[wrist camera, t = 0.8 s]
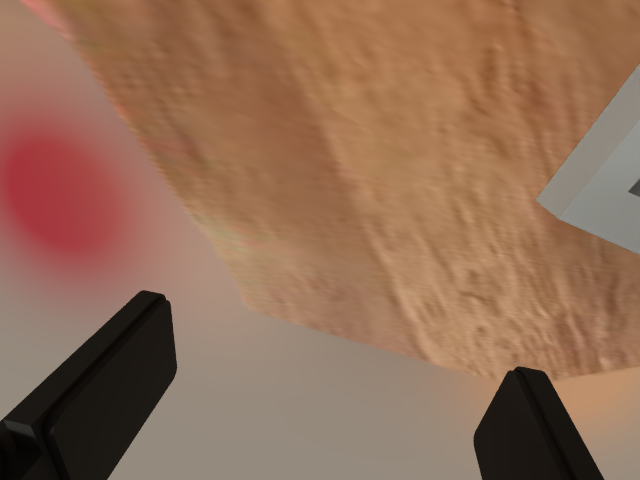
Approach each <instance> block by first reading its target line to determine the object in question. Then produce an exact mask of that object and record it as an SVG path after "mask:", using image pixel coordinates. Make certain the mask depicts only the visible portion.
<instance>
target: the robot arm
mask: <svg viewBox="0 0 640 480" xmlns="http://www.w3.org/2000/svg"><path fill="white" fill-rule="evenodd" d="M176 370H177V362H176V353H175V342H174V334H173V323H172V314H171V305H170V302H169V301H168V300H166V298H165V296H164V295H163V294H159V293H155V292H150V291H145V290H143V291H140V292H139V293H138V294H137V295H136V296H135V297H133V298H132V299H131V300H130V301H129V302H128V303H127V304H126V305H125V306H124V307H123V308H122V309H121V310H120V311H118V312H117V313H116V314H115V315H114V316H113V317H112V318H111V319H110V320H109V321H108V322H107V323H106V324H104V325H103V326H102V327H101V328H100V329H99V330H98V331H97V332H96V333H95V334H94V335H93V336H92V337H90V338H89V339H88V340H87V341H86V342H85V343H84V344H83V345H82V346H81V347H79V348H78V349H77V350H76V351H75V352H74V353H73V354H72V355H71V356H70V357H69V358H68V359H67V360H66V361H64V362H63V363H62V364H61V365H60V366H59V367H58V368H57V369H56V370H55V371H54V372H53V373H52V374H50V375H49V376H48V377H47V378H46V379H45V380H44V381H43V382H42V383H41V384H40V385H39V386H38V387H37V388H35V389H34V390H33V391H32V392H31V393H30V394H29V395H28V396H27V397H26V398H25V399H24V400H23V401H22V402H20V403H19V404H18V405H17V406H16V407H15V408H14V409H13V410H12V411H11V412H10V413H9V414H8V415H7V416H6V417H4V418H3V419H2V420H1V421H0V480H107V479H108V477H109V476H110V474H111V473H112V471H113V470H114V468H115V467H116V465H117V464H118V462H119V461H120V459H121V458H122V456H123V455H124V453H125V452H126V450H127V449H128V447H129V446H130V444H131V443H132V441H133V440H134V438H135V437H136V435H137V434H138V432H139V431H140V429H141V427H142V426H143V425H144V423H145V422H146V420H147V418H148V417H149V415H150V414H151V412H152V411H153V409H154V408H155V406H156V405H157V403H158V402H159V400H160V399H161V397H162V396H163V394H164V393H165V391H166V390H167V388H168V386H169V385H170V384H171V382H172V381H173V379H174V377H175V374H176ZM474 448H475V452H476V456H477V460H478V464H479V468H480V472H481V476H482V480H604V478H603V476H602V475H601V473H600V471H599V469H598V467H597V465H596V464H595V462H594V460H593V458H592V456H591V455H590V453H589V451H588V449H587V447H586V445H585V444H584V442H583V440H582V438H581V436H580V435H579V433H578V431H577V429H576V427H575V425H574V423H573V422H572V420H571V418H570V416H569V414H568V412H567V411H566V409H565V407H564V405H563V403H562V402H561V400H560V398H559V396H558V394H557V392H556V391H555V389H554V387H553V385H552V383H551V381H550V380H549V378H548V376H547V375H546V373H545V372H543V371H540V370H535V369H530V368H525V367H519V366H518V367H516V368H515V369H514V371H511V370H510V371H508V373H507V374H506V376H505V378H504V379H503V381H502V383H501V385H500V387H499V389H498V391H497V392H496V394H495V396H494V398H493V400H492V402H491V404H490V405H489V407H488V409H487V411H486V413H485V415H484V416H483V418H482V420H481V422H480V424H479V426H478V428H477V429H476V431H475V434H474Z"/></svg>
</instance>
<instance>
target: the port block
mask: <svg viewBox="0 0 640 480" xmlns="http://www.w3.org/2000/svg"><path fill="white" fill-rule="evenodd" d="M536 201H537V202H538V203H540V204H541V205H542V206H543V207H545V208H546V209H547V210H548V211H549V212H551V213H552V214H553V215H554V216H555V217H557V218H558V219H560V220H562V221H564V222H567V223H569V224H571V225H573V226H576V227H578V228H580V229H582V230H585V231H587V232H589V233H591V234H594V235H596V236H598V237H601V238H603V239H605V240H607V241H610V242H612V243H614V244H616V245H619V246H621V247H623V248H625V249H628V250H630V251H632V252H635V253H637V254H639V255H640V64H639V65H638V66H637V68H636V69H635V70H634V71H633V73H632V74H631V75H630V77H629V78H628V79H627V81H626V82H625V83H624V85H623V86H622V87H621V89H620V90H619V91H618V92H617V94H616V95H615V96H614V98H613V99H612V100H611V102H610V103H609V104H608V106H607V107H606V108H605V110H604V111H603V112H602V113H601V115H600V116H599V117H598V119H597V120H596V121H595V123H594V124H593V125H592V127H591V128H590V129H589V130H588V132H587V133H586V134H585V136H584V137H583V138H582V140H581V141H580V142H579V144H578V145H577V146H576V148H575V149H574V150H573V151H572V153H571V154H570V155H569V157H568V158H567V159H566V161H565V162H564V163H563V165H562V166H561V167H560V169H559V170H558V171H557V172H556V174H555V175H554V176H553V178H552V179H551V180H550V182H549V183H548V184H547V186H546V187H545V188H544V190H543V191H542V192H541V193H540V195H539V196H538V197H537V199H536Z"/></svg>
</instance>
